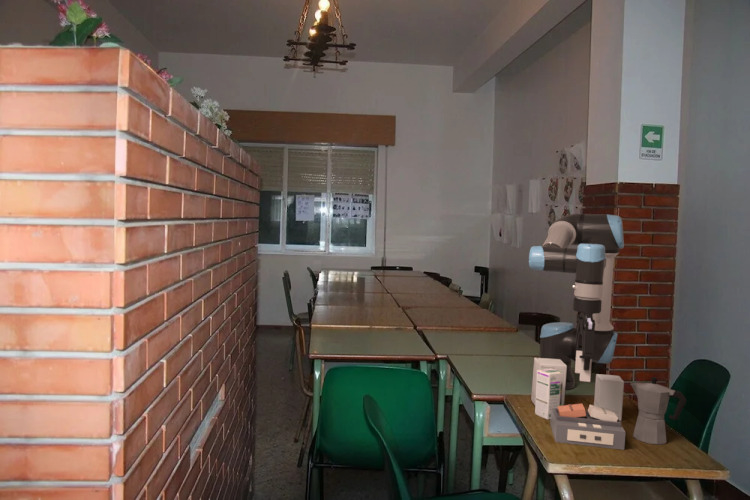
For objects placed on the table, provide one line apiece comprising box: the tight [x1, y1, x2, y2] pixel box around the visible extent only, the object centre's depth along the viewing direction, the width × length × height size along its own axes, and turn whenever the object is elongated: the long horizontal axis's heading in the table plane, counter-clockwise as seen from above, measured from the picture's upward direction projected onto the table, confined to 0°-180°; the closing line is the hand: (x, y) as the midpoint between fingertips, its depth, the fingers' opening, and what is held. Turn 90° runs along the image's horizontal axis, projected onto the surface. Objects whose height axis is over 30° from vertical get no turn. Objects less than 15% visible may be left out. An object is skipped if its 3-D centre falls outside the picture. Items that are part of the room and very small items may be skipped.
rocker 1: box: [557, 403, 587, 417], centre depth 166 cm, size 5×7×2 cm
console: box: [549, 408, 626, 451], centre depth 166 cm, size 14×18×6 cm
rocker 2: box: [587, 404, 618, 422], centre depth 165 cm, size 5×7×2 cm
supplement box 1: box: [530, 357, 567, 406], centre depth 193 cm, size 9×9×15 cm
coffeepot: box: [629, 376, 687, 445], centre depth 165 cm, size 15×9×18 cm, turn 43°
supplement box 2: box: [593, 373, 625, 422], centre depth 184 cm, size 7×7×13 cm
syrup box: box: [534, 368, 563, 421], centre depth 182 cm, size 6×6×14 cm
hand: (582, 376), depth 165 cm, fingers open, 8 cm apart
